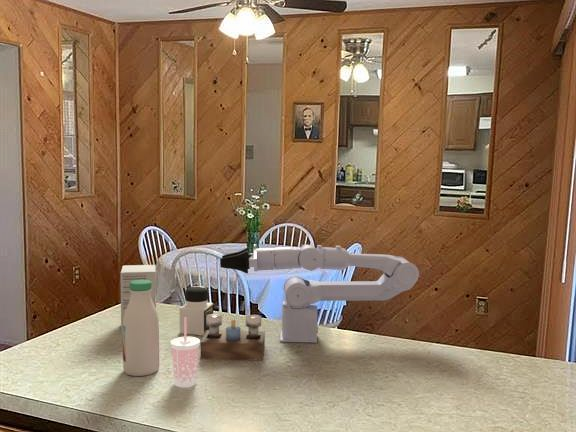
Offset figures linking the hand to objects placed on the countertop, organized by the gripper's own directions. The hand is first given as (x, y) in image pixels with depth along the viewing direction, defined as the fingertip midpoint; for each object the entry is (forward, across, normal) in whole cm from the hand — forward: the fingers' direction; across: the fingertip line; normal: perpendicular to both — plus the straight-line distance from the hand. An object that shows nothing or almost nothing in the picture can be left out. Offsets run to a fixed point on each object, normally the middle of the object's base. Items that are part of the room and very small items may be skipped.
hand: (221, 261), depth 138 cm
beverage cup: (+7, +27, +22) cm, 35 cm away
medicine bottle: (+8, -8, +20) cm, 23 cm away
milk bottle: (+17, +20, +21) cm, 34 cm away
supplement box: (+24, -10, +19) cm, 32 cm away
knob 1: (+2, +9, +18) cm, 20 cm away
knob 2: (-8, +10, +18) cm, 22 cm away
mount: (-3, +9, +21) cm, 23 cm away
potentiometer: (-3, +11, +18) cm, 21 cm away
